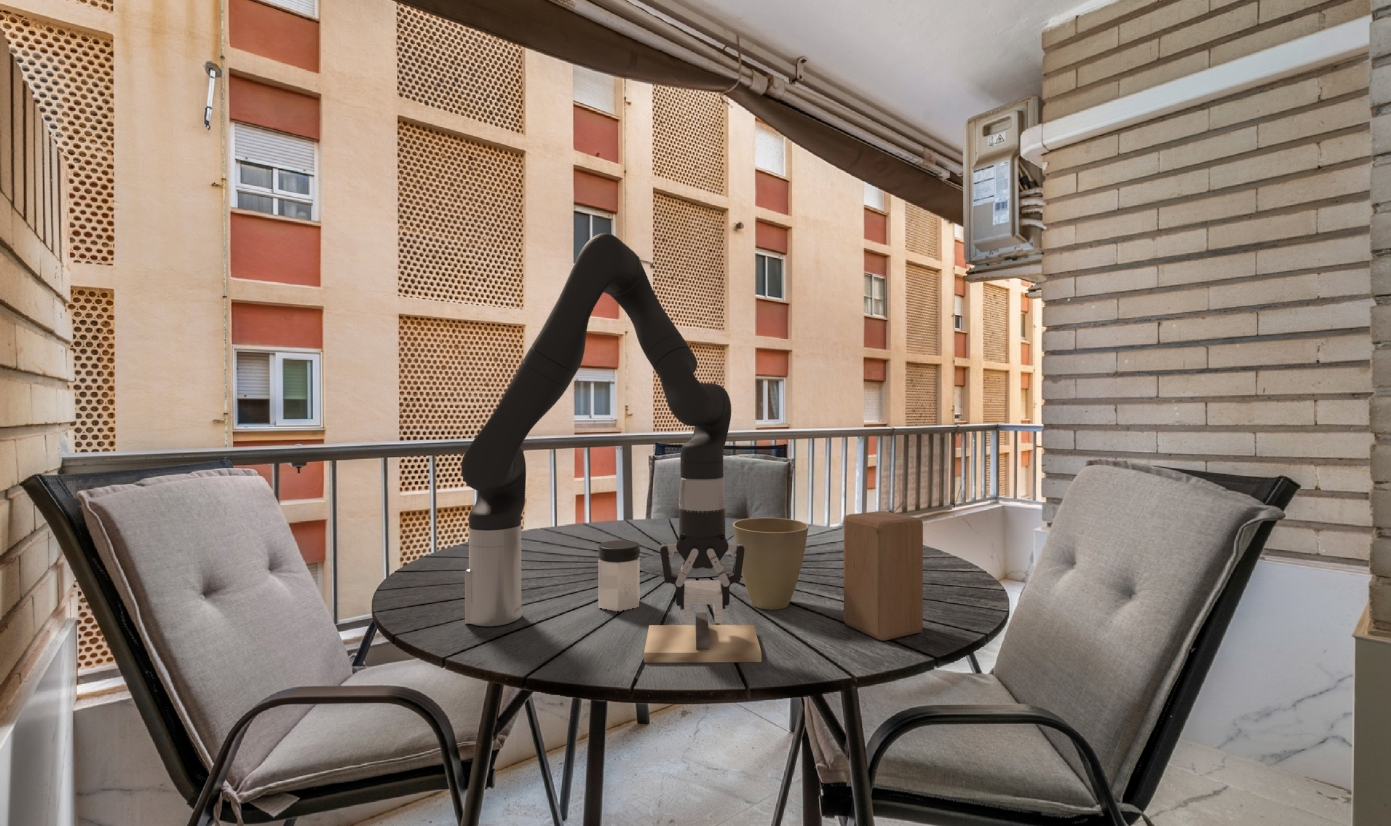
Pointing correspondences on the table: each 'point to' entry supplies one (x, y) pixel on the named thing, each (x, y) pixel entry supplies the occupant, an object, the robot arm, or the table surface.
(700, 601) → the notched grey block
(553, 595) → the table surface
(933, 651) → the table surface
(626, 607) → the jar
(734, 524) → the plant pot
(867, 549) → the wooden block
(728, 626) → the stand
